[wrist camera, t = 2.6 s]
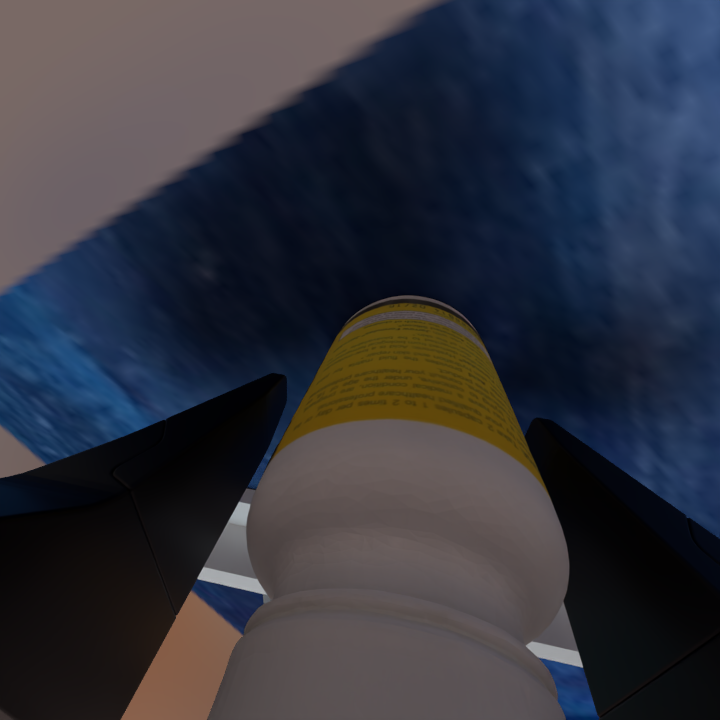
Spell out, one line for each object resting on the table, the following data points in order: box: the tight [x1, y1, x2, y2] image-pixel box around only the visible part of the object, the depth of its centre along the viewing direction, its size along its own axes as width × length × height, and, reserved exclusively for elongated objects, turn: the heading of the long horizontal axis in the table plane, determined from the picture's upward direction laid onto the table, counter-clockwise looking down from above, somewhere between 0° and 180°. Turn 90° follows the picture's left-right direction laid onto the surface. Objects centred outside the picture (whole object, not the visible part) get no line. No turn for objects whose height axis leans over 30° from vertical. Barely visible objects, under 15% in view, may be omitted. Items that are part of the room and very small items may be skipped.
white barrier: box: [197, 488, 583, 667], centre depth 15 cm, size 20×5×3 cm, turn 85°
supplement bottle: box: [207, 295, 569, 720], centre depth 7 cm, size 5×5×10 cm
